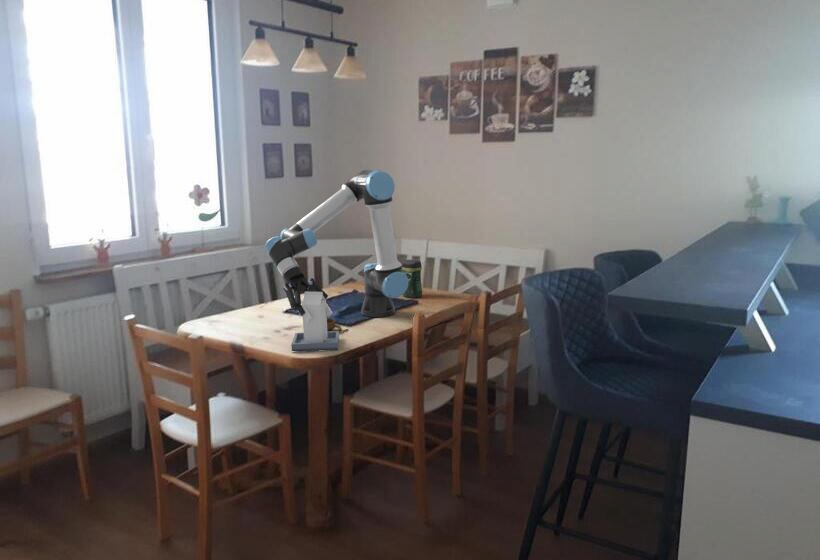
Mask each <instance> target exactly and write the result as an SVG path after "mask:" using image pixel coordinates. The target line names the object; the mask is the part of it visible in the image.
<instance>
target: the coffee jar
mask: <svg viewBox="0 0 820 560" xmlns="http://www.w3.org/2000/svg"><path fill="white" fill-rule="evenodd" d="M401 264H402V271H403V273H404V274H405V275H406V276H407V278H408V288H407V290H406V291H405V293H404V294H403V295H402V296H403V297H406V298H409V299H410V298H411V299H414V298H421V296H423V287H422V276H421V275H422V273H421V272H422V268H423V267H422V262H421V261H420V260H415V259H405V260H402V263H401Z"/></svg>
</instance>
